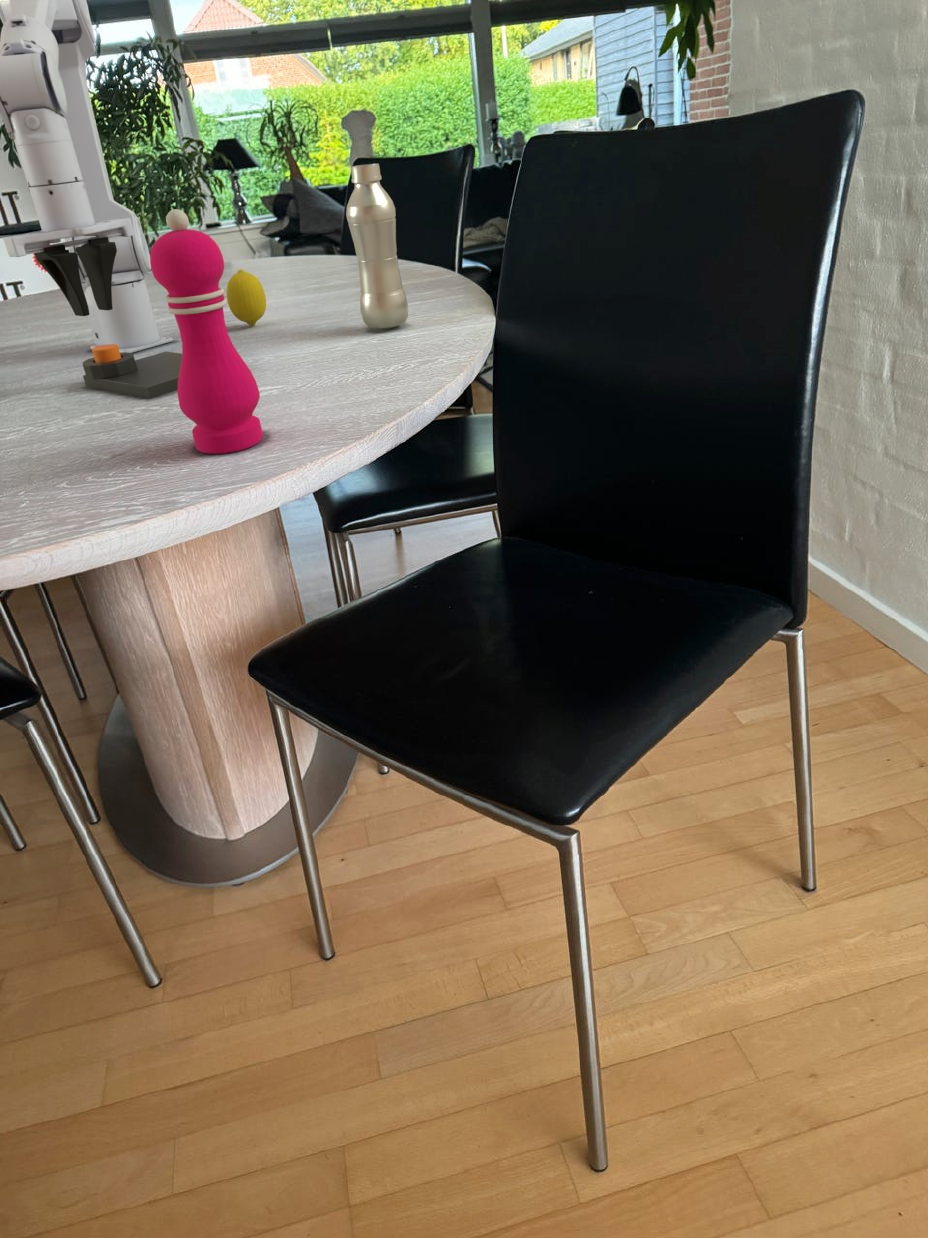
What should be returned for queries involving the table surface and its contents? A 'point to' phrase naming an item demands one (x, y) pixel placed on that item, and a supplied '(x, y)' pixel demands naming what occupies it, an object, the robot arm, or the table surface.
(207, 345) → the pepper mill
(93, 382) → the grey peg base
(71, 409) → the table surface
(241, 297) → the lemon
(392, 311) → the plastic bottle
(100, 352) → the button
